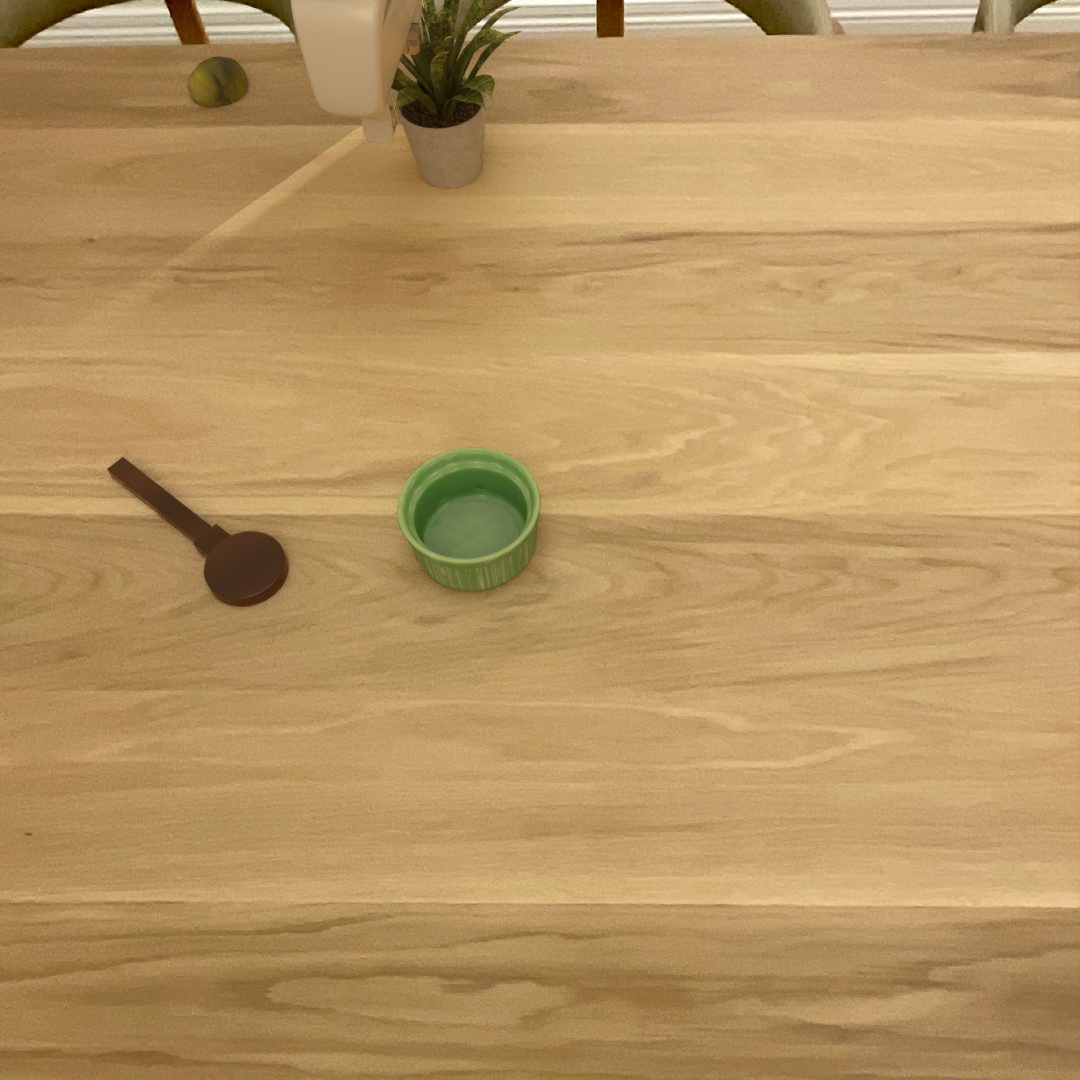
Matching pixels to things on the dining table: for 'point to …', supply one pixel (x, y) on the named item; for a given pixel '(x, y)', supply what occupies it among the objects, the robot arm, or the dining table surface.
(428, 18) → the house plant
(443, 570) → the ramekin
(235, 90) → the lime
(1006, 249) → the dining table surface
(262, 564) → the spoon
